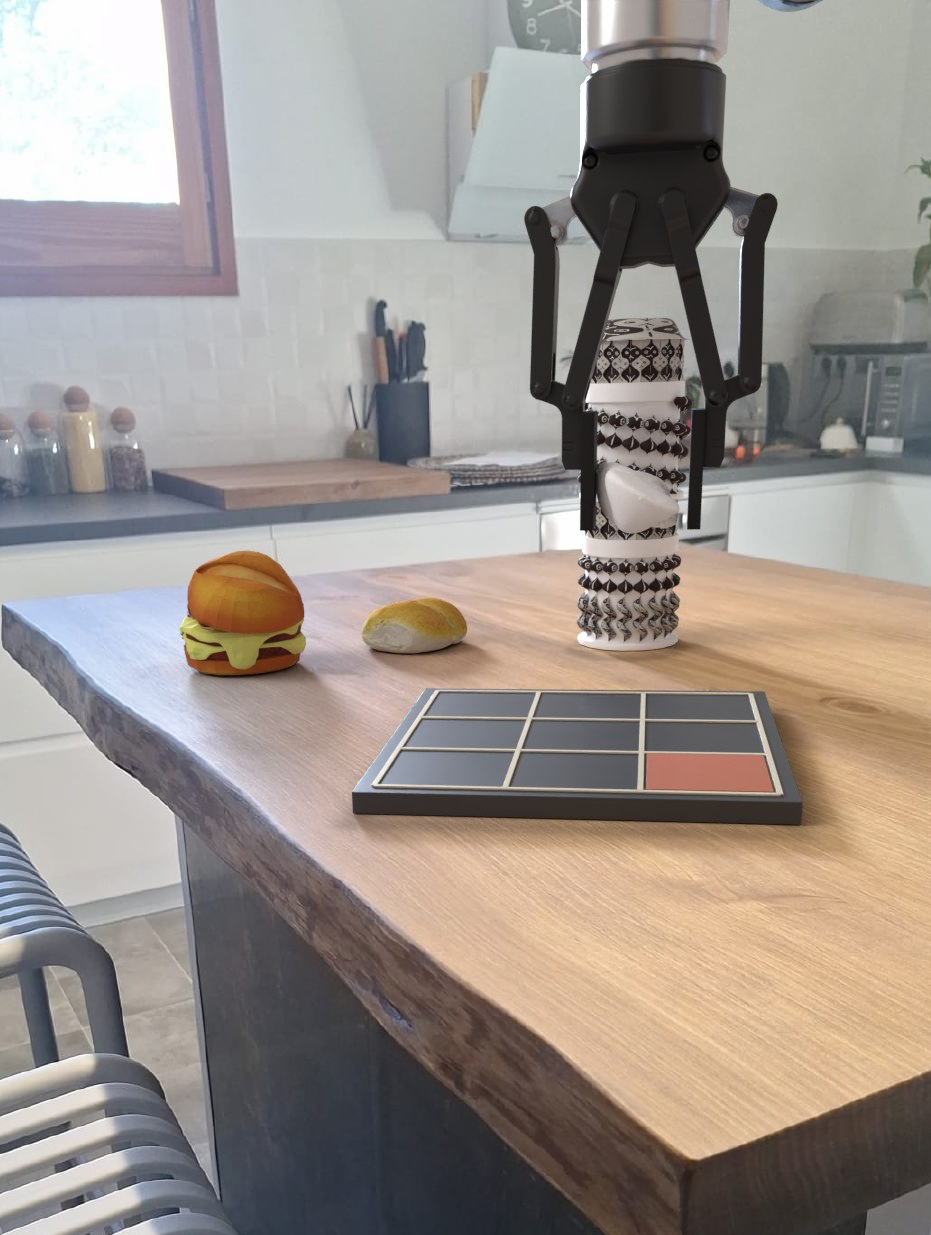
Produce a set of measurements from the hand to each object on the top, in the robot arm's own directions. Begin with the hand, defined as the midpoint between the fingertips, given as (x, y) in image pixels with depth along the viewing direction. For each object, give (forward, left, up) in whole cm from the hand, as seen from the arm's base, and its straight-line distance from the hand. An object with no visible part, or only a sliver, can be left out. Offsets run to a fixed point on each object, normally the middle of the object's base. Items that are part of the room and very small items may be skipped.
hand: (640, 526), depth 73 cm
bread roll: (+19, -27, -13) cm, 36 cm away
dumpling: (0, 0, -1) cm, 1 cm away
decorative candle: (+1, -29, -13) cm, 32 cm away
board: (+3, +5, -13) cm, 14 cm away
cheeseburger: (+31, -18, -13) cm, 38 cm away
